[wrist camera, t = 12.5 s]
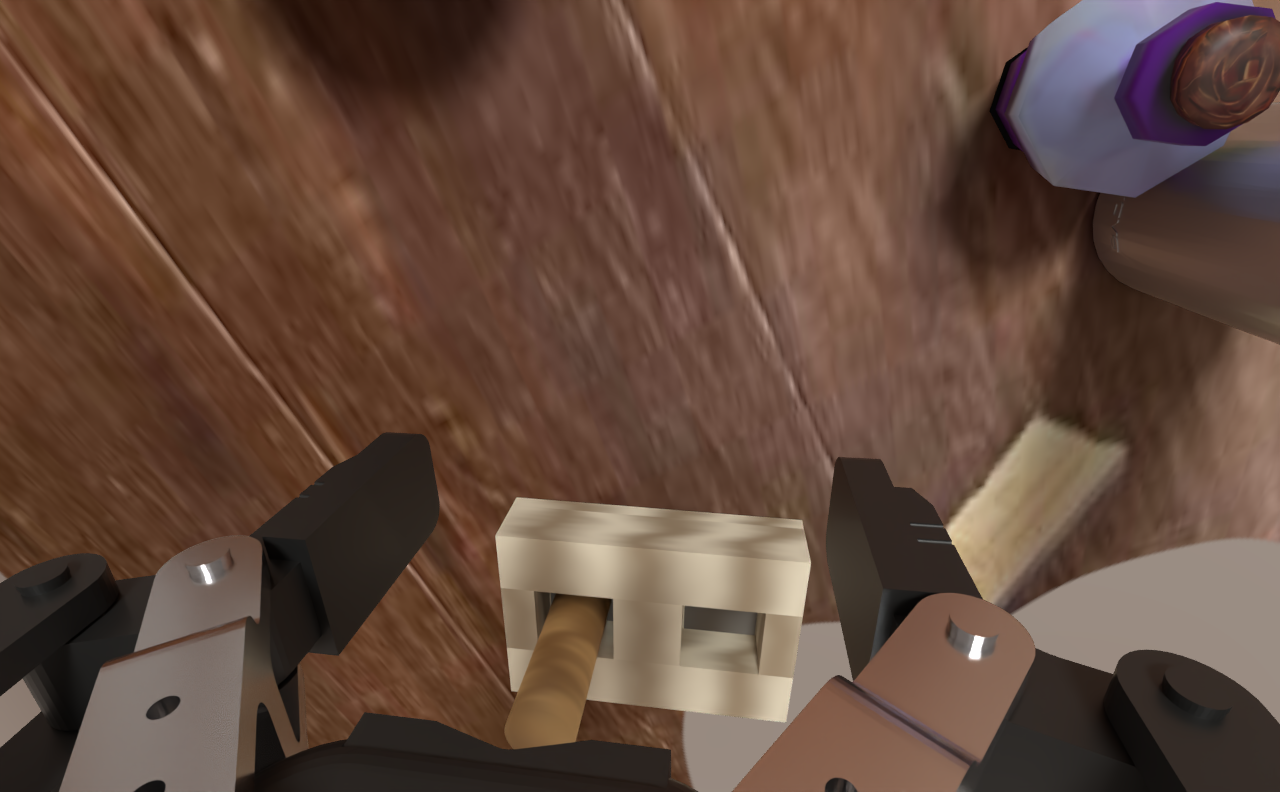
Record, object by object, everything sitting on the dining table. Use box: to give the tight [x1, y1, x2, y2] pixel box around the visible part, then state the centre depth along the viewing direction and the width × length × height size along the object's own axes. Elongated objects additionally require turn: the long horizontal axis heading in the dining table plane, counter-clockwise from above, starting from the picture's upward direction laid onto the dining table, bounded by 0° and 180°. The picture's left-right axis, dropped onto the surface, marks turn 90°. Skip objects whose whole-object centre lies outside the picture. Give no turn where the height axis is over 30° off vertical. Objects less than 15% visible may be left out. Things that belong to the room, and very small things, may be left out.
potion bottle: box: [990, 0, 1280, 198], centre depth 24 cm, size 9×9×12 cm
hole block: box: [495, 498, 811, 723], centre depth 43 cm, size 20×14×4 cm
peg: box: [504, 593, 612, 749], centre depth 39 cm, size 4×4×12 cm
